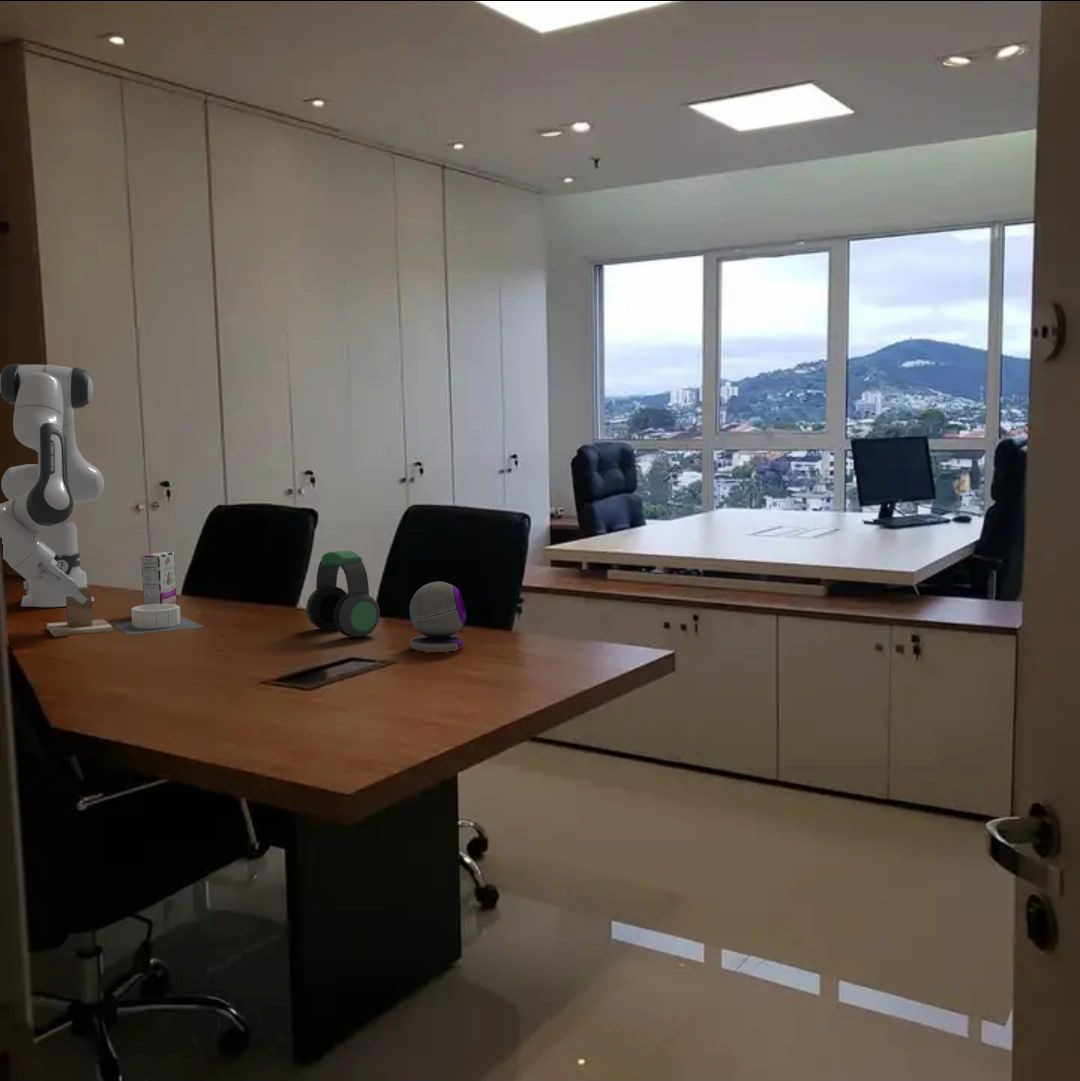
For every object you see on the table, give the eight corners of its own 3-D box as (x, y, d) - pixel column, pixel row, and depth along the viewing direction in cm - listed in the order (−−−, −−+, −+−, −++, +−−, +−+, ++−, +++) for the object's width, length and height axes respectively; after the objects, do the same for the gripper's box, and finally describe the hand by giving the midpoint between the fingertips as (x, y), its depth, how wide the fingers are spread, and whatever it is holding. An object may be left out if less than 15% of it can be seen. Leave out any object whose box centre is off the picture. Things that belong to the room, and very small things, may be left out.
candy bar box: (159, 613, 285) (156, 551, 284) (177, 612, 285) (175, 551, 284) (142, 618, 274) (140, 555, 273) (162, 618, 274) (159, 555, 273)
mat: (109, 624, 268) (109, 623, 268) (181, 617, 278) (181, 616, 278) (128, 636, 253) (128, 634, 253) (204, 628, 263) (204, 626, 263)
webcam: (464, 653, 237) (464, 586, 235) (406, 652, 236) (406, 585, 235) (467, 641, 249) (467, 578, 248) (412, 641, 249) (412, 577, 248)
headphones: (303, 630, 262) (301, 549, 260) (341, 625, 269) (341, 546, 267) (343, 642, 248) (342, 556, 246) (383, 636, 255) (383, 553, 253)
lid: (46, 628, 261) (45, 586, 260) (103, 623, 268) (102, 583, 267) (54, 637, 250) (52, 593, 249) (113, 632, 257) (111, 590, 256)
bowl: (127, 623, 267) (127, 606, 266) (172, 619, 273) (171, 602, 273) (139, 630, 258) (138, 612, 257) (185, 626, 264) (184, 608, 264)
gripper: (54, 556, 245) (101, 595, 251) (37, 548, 261) (81, 584, 268) (34, 577, 242) (81, 615, 249) (18, 567, 259) (63, 603, 266)
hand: (81, 599), depth 259 cm, fingers closed on lid, 5 cm apart
